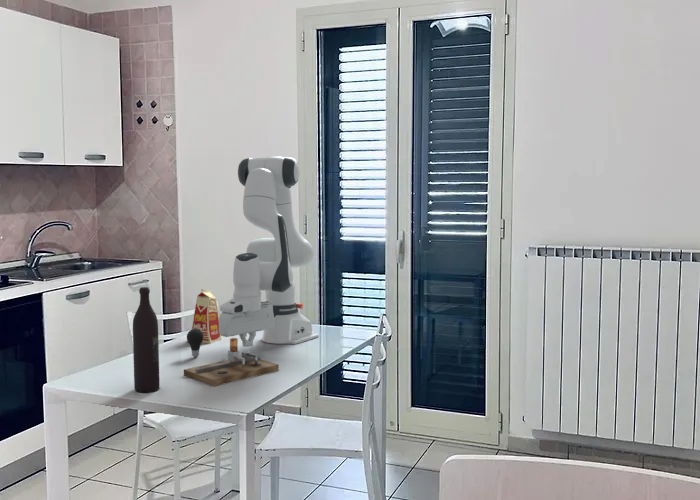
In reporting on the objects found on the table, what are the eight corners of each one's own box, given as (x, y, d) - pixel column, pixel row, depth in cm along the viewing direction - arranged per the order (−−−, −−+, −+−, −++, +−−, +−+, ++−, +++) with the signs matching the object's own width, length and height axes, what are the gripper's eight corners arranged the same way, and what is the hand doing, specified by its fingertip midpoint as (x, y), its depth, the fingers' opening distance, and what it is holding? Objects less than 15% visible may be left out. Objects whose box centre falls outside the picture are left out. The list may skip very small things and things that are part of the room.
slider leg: (234, 362, 229) (234, 337, 229) (247, 366, 225) (247, 340, 224) (228, 363, 228) (228, 338, 227) (241, 367, 223) (240, 342, 222)
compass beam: (256, 358, 236) (256, 349, 235) (269, 362, 231) (269, 352, 231) (194, 372, 218) (194, 362, 218) (206, 376, 214) (206, 366, 214)
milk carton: (210, 343, 266) (209, 290, 264) (189, 341, 269) (188, 289, 267) (223, 338, 274) (222, 287, 272) (202, 336, 277) (201, 285, 275)
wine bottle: (157, 392, 204) (154, 289, 201) (132, 393, 204) (129, 289, 201) (161, 385, 211) (159, 285, 208) (137, 386, 211) (134, 286, 208)
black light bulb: (199, 359, 242) (199, 330, 241) (184, 359, 243) (183, 330, 242) (206, 355, 247) (205, 327, 246) (191, 355, 248) (190, 326, 247)
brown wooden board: (247, 361, 240) (247, 355, 240) (278, 370, 229) (278, 364, 228) (183, 375, 222) (183, 369, 222) (213, 386, 211) (213, 379, 211)
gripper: (266, 299, 239) (266, 339, 240) (215, 306, 225) (216, 349, 226) (278, 301, 235) (278, 342, 236) (227, 309, 220) (228, 353, 222)
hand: (247, 346), depth 231 cm, fingers closed
